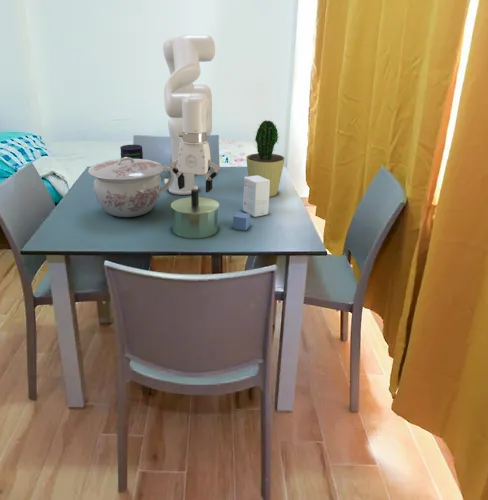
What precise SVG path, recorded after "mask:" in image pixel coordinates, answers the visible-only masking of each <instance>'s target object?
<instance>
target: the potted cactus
mask: <svg viewBox="0 0 488 500" xmlns="http://www.w3.org/2000/svg"><path fill="white" fill-rule="evenodd" d="M256 130H257V131H256V132H255V131H254V136H255V137H254V139H253V140H254V141H255V143H256V150H257V151H256V152H257V153H251V154H248V155H246V156H245V158H246V168H247V177H249V176H256V175H259V176H261V177H263V178H266V179H268V180H270V191H269V198H270V197H274V196H276V195H277V194H278V192H279V186H280V182H281V178H282V173H283V169H284V164H285V159H286V157H285V156H283V155H282V154H277V153H274V151H276V150H275V146H276V144H279V142H278V141H280V140H279V135H280V133H279V131H278V128H277V125H276V124H275V123H274V121H272V120H267V119H265V120H262V121H261V123H258V127H257V129H256ZM255 133H256V134H255Z"/></svg>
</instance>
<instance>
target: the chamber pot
mask: <svg viewBox="0 0 488 500" xmlns="http://www.w3.org/2000/svg"><path fill="white" fill-rule="evenodd" d="M87 171H88V172H87V173H88V174H90V176H92V177H93V178H94V180H93V192H94V196H95V199H96V201H97V203H98V204H99V205H100V207H101V208H102V209H103V211H105V212H106V213H107V214H108V215H111V216H113V217H118V218H135V217H139V216H143V215H146V214H148V213H150V212H151V211H152V210H153V208H154V207H155V205H156V203H157V202H158V200H159V199H160V197H161V196H162V195H163V194H164V192H166V191H167V190H169V187H170V185H171V184H172V182H173V180H174V172H173V170H172V169H171V168H170V165H167V164H164V165H163V164H162V163H160V162H159V161H154V160H151V159H147V158H145V159H144V158H143V159H134V158H129V157H124V158H121V157H120V158H115V159H109V160H104V161H102V162H101V161H100V162H98V163H96V164H92V166H90V167H89V168H88V170H87ZM163 172H168V175H169V177H168V179H169V181H168V182H167V183H166V184H164V186H162V185H161V178H162V177H161V174H162V173H163ZM161 186H162V187H161Z"/></svg>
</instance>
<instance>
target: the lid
mask: <svg viewBox="0 0 488 500" xmlns="http://www.w3.org/2000/svg"><path fill="white" fill-rule="evenodd" d="M199 194H200V193H199V189H198V190H197V189H193V190H191V194H190V196H188V197H182V198H179V199H175V200H173V202H171V204H170V208H171V210H172V209H173V210H174V211H176V212H179V213H183V214H194V215H195V214H206V213H210V212H213V211H216V210H217V209H218V210H219V208H220V202H218V201H217V200H215V199H213V198H208V197H203V196H199Z"/></svg>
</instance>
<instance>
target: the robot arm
mask: <svg viewBox="0 0 488 500" xmlns="http://www.w3.org/2000/svg"><path fill="white" fill-rule="evenodd" d="M162 51H163V56H164V59H165V62H166V65H167V67H168V70H169V77H168V78H167V80H166V82H165V84H164V87H163V99H164V100H163V101H164V109H165V110H164V111H165V113H166V115H167V116H168V117H169V119H168V122H167V126H168V127H167V128H168V132H169V139H170V163H169V166H170V165H171V168H172V170H173V172H174V180H173V182H172V184H171V185H170V187H169V188H168V192H169V193H171V194H173V195H180V196H184V195H186V196H187V195H191V190H193V189H197V190H198V191H199V186H198V185H196V183H195V182H196V181H195V180H196V179H195V178H196V176H203V177H205V178H206V180H205V193H210V192H211V191H212V189H213V179H214V178H215V177H216V176H218V174H219V172H220V170H221V166H220V165H218V164H217V163H215V162H213V161H212V159H211V158H212V157H211V148H210V144H209V141H207V138H208V137H210V136H211V134H212V131H213V96H212V95H213V94H212V91H211V88H210V87H209V86H208V85H207V84H193V83H195V82H196V81H197V80H198V79H199V77H200V76H201V65H200V63H205V62H212V61H213V59H215V55H216V45H215V40H214V38H213V37H212V36H211V35H209V34H184V35H180V36H176V37H175V36H173V37H170V38H166V39H165V40H164V41H163V44H162ZM211 169H213V172H211ZM168 181H169V178H164V179H163V184H164V185H166V183H167V182H168Z"/></svg>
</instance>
